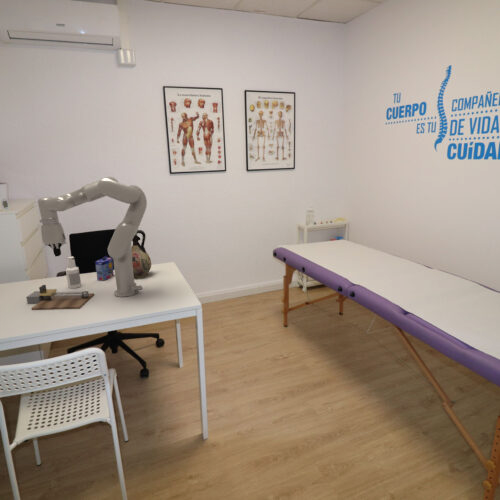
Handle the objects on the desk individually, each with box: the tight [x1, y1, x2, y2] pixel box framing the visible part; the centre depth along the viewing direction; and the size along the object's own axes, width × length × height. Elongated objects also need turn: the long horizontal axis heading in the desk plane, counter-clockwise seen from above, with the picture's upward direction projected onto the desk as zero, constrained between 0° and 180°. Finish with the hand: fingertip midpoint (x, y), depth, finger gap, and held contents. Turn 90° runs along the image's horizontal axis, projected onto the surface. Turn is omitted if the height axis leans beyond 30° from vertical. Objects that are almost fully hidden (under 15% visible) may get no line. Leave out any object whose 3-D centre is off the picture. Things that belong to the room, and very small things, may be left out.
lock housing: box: [26, 290, 44, 305], centre depth 190 cm, size 6×8×4 cm
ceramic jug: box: [131, 229, 152, 279], centre depth 223 cm, size 17×15×30 cm
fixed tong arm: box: [54, 291, 83, 294], centre depth 191 cm, size 19×2×2 cm, turn 91°
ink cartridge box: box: [94, 255, 115, 282], centre depth 221 cm, size 10×6×14 cm, turn 163°
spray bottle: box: [65, 256, 82, 290], centre depth 207 cm, size 7×7×18 cm
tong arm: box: [43, 290, 90, 300], centre depth 189 cm, size 23×4×3 cm, turn 90°
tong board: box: [31, 292, 95, 311], centre depth 187 cm, size 24×18×1 cm
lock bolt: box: [38, 284, 58, 296], centre depth 189 cm, size 6×6×4 cm
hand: (58, 255), depth 188 cm, fingers closed
